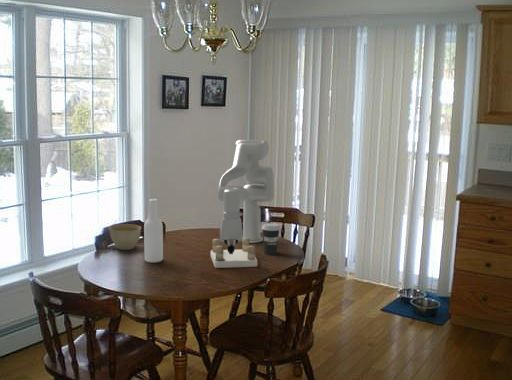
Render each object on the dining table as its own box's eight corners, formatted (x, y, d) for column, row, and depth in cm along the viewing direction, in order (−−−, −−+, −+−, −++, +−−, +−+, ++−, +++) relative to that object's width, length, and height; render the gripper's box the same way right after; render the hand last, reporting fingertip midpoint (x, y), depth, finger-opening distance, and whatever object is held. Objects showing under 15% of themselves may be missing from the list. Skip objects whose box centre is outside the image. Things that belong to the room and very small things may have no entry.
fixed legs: (212, 250, 293) (212, 238, 292) (248, 249, 296) (249, 237, 295) (216, 261, 275) (216, 248, 274) (255, 259, 278) (255, 247, 277)
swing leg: (214, 254, 285) (214, 242, 284) (221, 254, 285) (221, 241, 284) (216, 260, 275) (216, 247, 274) (223, 260, 275) (223, 247, 274)
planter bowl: (137, 252, 298) (137, 231, 297) (106, 251, 299) (105, 230, 297) (144, 244, 314) (144, 224, 312) (114, 243, 315) (113, 223, 313)
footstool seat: (210, 256, 294) (210, 249, 293) (249, 254, 298) (250, 248, 297) (215, 267, 274) (215, 261, 274) (257, 266, 278) (257, 259, 278)
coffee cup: (257, 254, 300) (258, 225, 297) (266, 249, 308) (266, 221, 305) (274, 256, 295) (275, 227, 293) (282, 252, 304) (283, 223, 301)
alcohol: (161, 257, 290) (161, 197, 285) (164, 262, 282) (163, 200, 277) (143, 258, 288) (142, 198, 283) (145, 263, 279) (145, 201, 274)
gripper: (245, 213, 279) (245, 251, 282) (214, 214, 277) (214, 251, 280) (248, 216, 272) (247, 255, 275) (216, 217, 269) (215, 256, 272)
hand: (230, 253), depth 277 cm, fingers closed
